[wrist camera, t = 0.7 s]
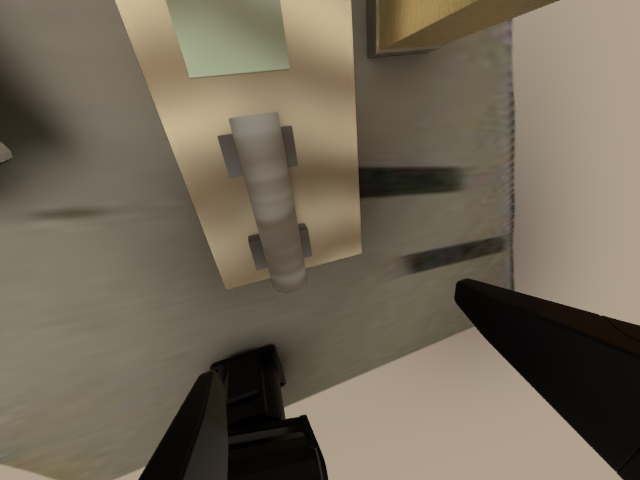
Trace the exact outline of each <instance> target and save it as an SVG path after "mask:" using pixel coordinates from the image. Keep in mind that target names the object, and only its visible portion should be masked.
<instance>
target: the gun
mask: <svg viewBox="0 0 640 480" xmlns="http://www.w3.org/2000/svg"><path fill="white" fill-rule="evenodd" d="M12 158H13V156H12V153H11V150H10V149H9V148H8V147H6V146H5V145H4V144H3V143H2V142H1V141H0V164H3V163H5V162H8V161H9V160H11V159H12Z"/></svg>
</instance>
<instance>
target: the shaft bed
mask: <svg viewBox="0 0 640 480" xmlns="http://www.w3.org/2000/svg"><path fill="white" fill-rule="evenodd" d="M115 2H116V4H117V7H118V9H119V12H120V15H121V17H122V20H123V22H124V25H125V28H126V30H127V33H128V35H129V38H130V41H131V43H132V46H133V48H134V51H135V54H136V56H137V59H138V61H139V64H140V67H141V69H142V72H143V74H144V77H145V80H146V82H147V85H148V87H149V90H150V93H151V95H152V98H153V100H154V103H155V106H156V108H157V111H158V114H159V116H160V119H161V121H162V124H163V127H164V129H165V132H166V134H167V137H168V140H169V142H170V145H171V147H172V150H173V153H174V155H175V158H176V160H177V163H178V166H179V168H180V171H181V173H182V176H183V179H184V181H185V184H186V186H187V189H188V192H189V194H190V197H191V199H192V202H193V205H194V207H195V210H196V212H197V215H198V218H199V220H200V223H201V225H202V228H203V231H204V233H205V236H206V238H207V241H208V244H209V246H210V249H211V252H212V254H213V257H214V259H215V262H216V265H217V267H218V270H219V272H220V275H221V278H222V280H223V283H224V285H225V288H226V290H229V289H232V288H236V287H240V286H243V285H247V284H251V283H254V282H258V281H262V280H265V279H269V278H271V281H272V285H273V288H274V289H275V290H277V291H279V292H283V293H288V292H293V291H296V290H299V289H300V288H302V287H303V286H304V285H305V284H306V282H307V273H306V268H310V267H313V266H317V265H321V264H324V263H328V262H332V261H335V260H339V259H343V258H346V257H350V256H354V255H357V254H361V253H362V245H361V221H360V198H359V174H358V151H357V128H356V104H355V81H354V57H353V34H352V10H351V0H115Z"/></svg>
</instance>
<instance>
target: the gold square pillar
mask: <svg viewBox="0 0 640 480" xmlns="http://www.w3.org/2000/svg"><path fill="white" fill-rule="evenodd" d="M556 1H559V0H366V5H367V54H368V58H373V57H385V56H396V55H407V54H418V53H428V52H431V51H433V50H436V49H439V48H440V46H441V45H444V44H446V43H449V42H452V41H454V40H457V39H459V38H462V37H465V36H467V35H470V34H472V33H475V32H478V31H480V30H483V29H486V28H488V27H491V26H493V25H496V24H499V23H501V22H504V21H506V20H509V19H512V18H514V17H517V16H519V15H522V14H525V13H527V12H530V11H533V10H535V9H538V8H541V7H543V6H546V5H548V4H551V3H554V2H556Z"/></svg>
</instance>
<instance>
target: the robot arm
mask: <svg viewBox="0 0 640 480" xmlns="http://www.w3.org/2000/svg"><path fill="white" fill-rule="evenodd" d="M454 299H455V302H456V304H457V305H458V306H459V307H460V309H461V310H462V311H463V312H464V313H465V315H466V316H467V317H468V318H469V320H470V321H471V322H472V323H473V324H474V326H475V327H476V328H477V329H478V330H479V332H480V333H481V334H482V335H483V336H484V337H485V338H486V339H487V340H488V342H489V343H490V344H491V345H492V346H493V347H494V348H495V349H496V350H497V351H498V352H499V353H500V354H501V355H502V356H503V357H504V358H505V359H506V360H507V361H508V362H509V363H510V364H511V365H512V366H513V367H514V368H515V369H516V370H517V371H518V372H519V373H520V374H521V376H523V378H525V380H526V381H527V382H528V383H529V384H530V385H531V386H532V387H534V389H535V390H536V391H537V392H538V393H539V394H540V395H541V396H542V397H543V398H544V399H545V400H546V401H547V402H548V403H549V404H550V405H551V406H552V407H553V408H554V409H555V410H556V411H557V412H558V413H559V414H560V415H561V416H562V417H563V418H564V419H565V420H566V421H567V422H568V423H569V425H570V426H571V427H572V428H573V429H574V430H575V431H577V433H578V434H579V435H580V436H581V437H582V438H583V439H584V440H585V441H586V442H587V443H588V444H589V445H590V446H591V447H592V448H593V449H594V450H595V451H596V452H597V453H598V454H599V455H600V456H601V457H602V458H603V459H604V460H605V461H606V462H607V463H608V464H609V465H610V466H611V467H612V468H613V469H614V470H615V471H617V474H618V475H619V476H620V477H621V478H622V479H623V480H640V326H639V325H635V324H631V323H627V322H624V321H620V320H616V319H613V318H609V317H606V316H600V315H598V314H595V313H591V312H587V311H584V310H580V309H577V308H573V307H570V306H566V305H562V304H559V303H555V302H552V301H548V300H544V299H541V298H537V297H533V296H530V295H526V294H522V293H519V292H516V291H512V290H508V289H505V288H501V287H498V286H494V285H490V284H487V283H483V282H480V281H476V280H472V279H468V278H467V279H463V280H460V281H458V282H457V283H456V289H455V296H454ZM271 350H272V351H271ZM285 384H286V381H285V377H284V374H283V370H282V367H281V364H280V361H279V357H278V354H277V351H276V348H275V346H272V345H271V346H268V347H264V348H261V349H258V350H255V351H252V352H249V353H246V354H243V355H240V356H237V357H234V358H231V359H228V360H225V361H222V362H219V363H216V364H213V365H212V366H211V367H210V371H208V372H205V373H202V374H201V375H200V376H199V377H198V378H197V380H196V382H195V383H194V385H193V387H192V389H191V390H190V392H189V394H188V395H187V397H186V399H185V401H184V402H183V404H182V406H181V407H180V409H179V411H178V413H177V414H176V416H175V418H174V419H173V421H172V423H171V425H170V426H169V428H168V430H167V431H166V433H165V435H164V437H163V438H162V440H161V442H160V443H159V445H158V447H157V449H156V450H155V452H154V454H153V455H152V457H151V459H150V460H149V462H148V464H147V466H146V467H145V469H144V471H143V473H142V474H141V476H140V478H139V479H138V480H328V475H327V469H326V465H325V461H324V458H323V455H322V453H321V450H320V448H319V445H318V443H317V440H316V438H315V435H314V433H313V430H312V428H311V426H310V423H309V421H308V418H307V416H306V415H301V416H300V417H296V418H289V419H285V413H284V406H283V400H282V394H281V387H283V386H284V385H285Z"/></svg>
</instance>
